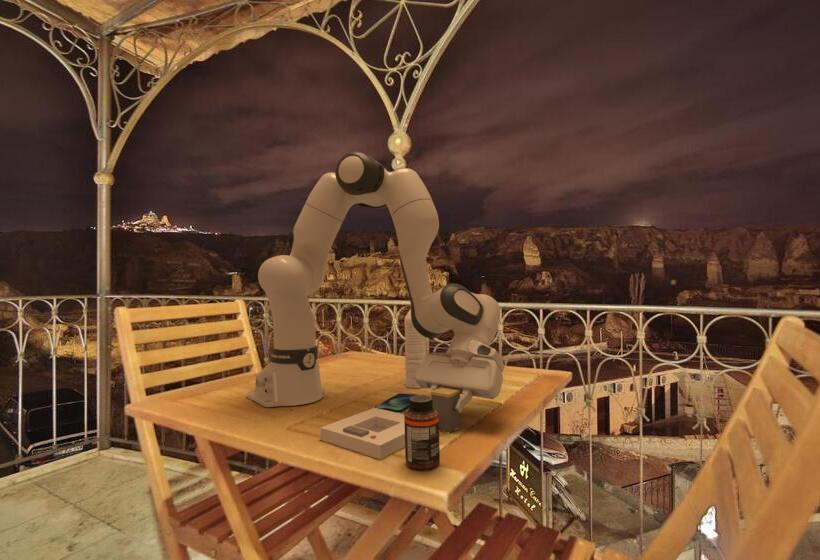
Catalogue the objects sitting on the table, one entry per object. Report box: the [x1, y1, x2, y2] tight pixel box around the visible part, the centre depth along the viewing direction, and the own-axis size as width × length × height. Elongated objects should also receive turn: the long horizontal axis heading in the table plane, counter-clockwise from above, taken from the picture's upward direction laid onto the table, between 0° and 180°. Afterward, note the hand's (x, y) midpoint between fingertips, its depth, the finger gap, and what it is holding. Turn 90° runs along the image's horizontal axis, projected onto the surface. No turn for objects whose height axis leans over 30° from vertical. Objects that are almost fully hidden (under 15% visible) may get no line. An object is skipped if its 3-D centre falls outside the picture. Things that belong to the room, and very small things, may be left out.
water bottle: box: [404, 305, 427, 389], centre depth 125 cm, size 9×6×25 cm
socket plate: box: [319, 407, 405, 460], centre depth 84 cm, size 16×16×3 cm
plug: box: [430, 387, 462, 434], centre depth 88 cm, size 5×5×8 cm
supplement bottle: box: [403, 394, 441, 471], centre depth 71 cm, size 6×6×11 cm
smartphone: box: [374, 392, 417, 414], centre depth 107 cm, size 8×1×15 cm
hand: (444, 408), depth 88 cm, fingers closed on plug, 4 cm apart
